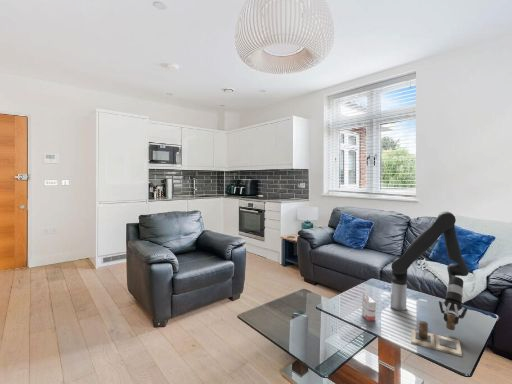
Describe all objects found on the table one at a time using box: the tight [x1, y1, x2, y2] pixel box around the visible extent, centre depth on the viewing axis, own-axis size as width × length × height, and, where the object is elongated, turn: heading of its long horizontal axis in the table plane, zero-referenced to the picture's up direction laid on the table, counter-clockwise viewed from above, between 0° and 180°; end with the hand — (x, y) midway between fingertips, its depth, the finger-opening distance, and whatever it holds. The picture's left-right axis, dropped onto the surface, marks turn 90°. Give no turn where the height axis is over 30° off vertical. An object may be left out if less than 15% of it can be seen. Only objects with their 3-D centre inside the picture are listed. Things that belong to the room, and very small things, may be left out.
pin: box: [418, 320, 429, 339], centre depth 151 cm, size 4×4×8 cm
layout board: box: [410, 328, 463, 357], centre depth 148 cm, size 22×14×1 cm, turn 59°
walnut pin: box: [445, 312, 456, 331], centre depth 155 cm, size 4×4×8 cm
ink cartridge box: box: [361, 292, 377, 322], centre depth 175 cm, size 9×5×15 cm, turn 5°
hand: (450, 322), depth 154 cm, fingers closed on walnut pin, 4 cm apart
